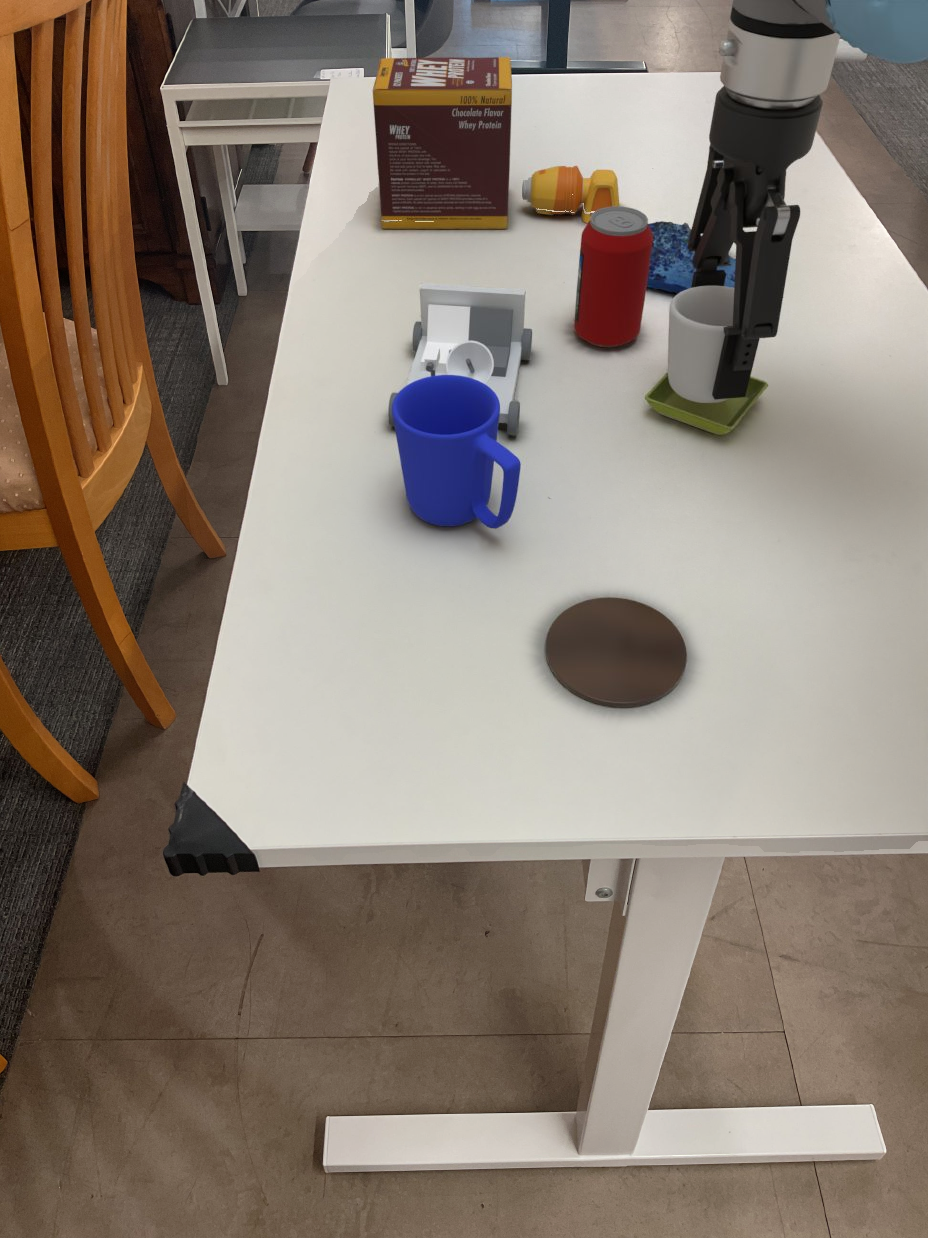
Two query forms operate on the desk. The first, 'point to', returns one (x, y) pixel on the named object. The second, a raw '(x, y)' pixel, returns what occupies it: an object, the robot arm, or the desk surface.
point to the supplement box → (443, 142)
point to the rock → (676, 259)
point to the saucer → (704, 407)
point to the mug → (453, 451)
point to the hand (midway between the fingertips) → (712, 366)
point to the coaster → (616, 652)
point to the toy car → (472, 340)
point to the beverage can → (612, 276)
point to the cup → (698, 339)
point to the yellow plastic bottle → (571, 190)
